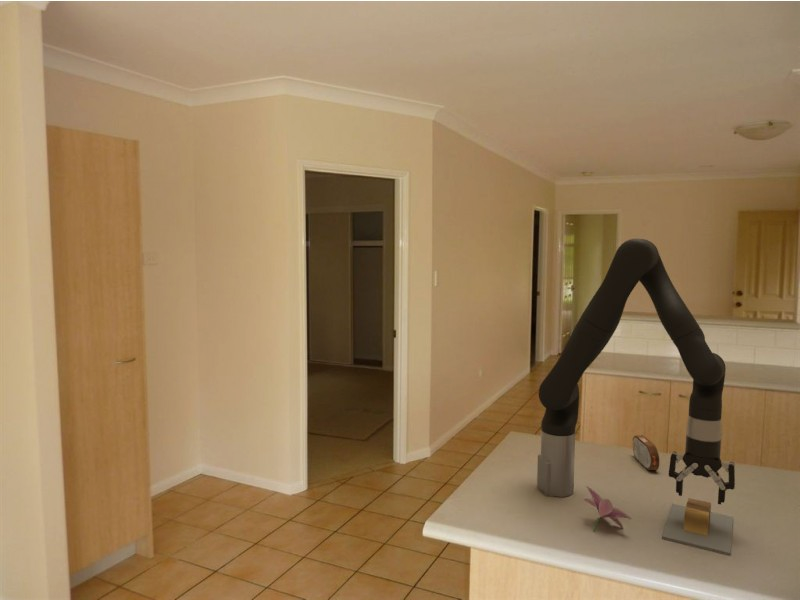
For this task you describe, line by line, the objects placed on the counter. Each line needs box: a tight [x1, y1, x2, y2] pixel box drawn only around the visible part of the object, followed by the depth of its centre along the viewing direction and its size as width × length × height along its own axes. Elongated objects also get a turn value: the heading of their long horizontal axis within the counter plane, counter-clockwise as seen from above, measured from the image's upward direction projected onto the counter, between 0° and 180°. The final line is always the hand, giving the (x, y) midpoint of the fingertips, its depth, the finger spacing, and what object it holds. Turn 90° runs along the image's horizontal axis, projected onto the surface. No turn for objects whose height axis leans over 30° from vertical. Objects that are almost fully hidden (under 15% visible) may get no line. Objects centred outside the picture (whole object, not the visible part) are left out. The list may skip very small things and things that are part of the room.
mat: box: [661, 503, 734, 556], centre depth 139 cm, size 20×14×1 cm
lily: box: [583, 486, 632, 533], centre depth 139 cm, size 12×12×10 cm
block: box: [684, 497, 712, 536], centre depth 139 cm, size 5×5×8 cm
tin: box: [632, 434, 660, 471], centre depth 179 cm, size 15×3×8 cm, turn 179°
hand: (699, 498), depth 140 cm, fingers open, 8 cm apart
